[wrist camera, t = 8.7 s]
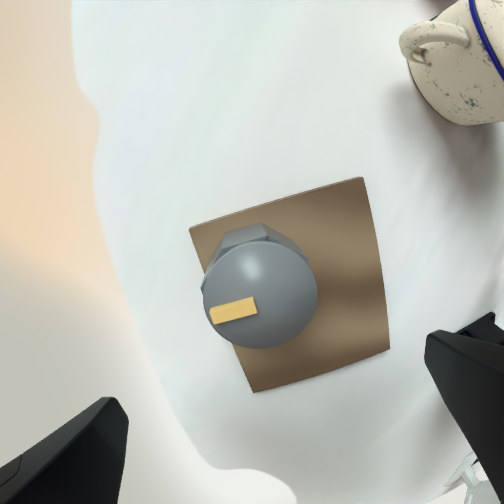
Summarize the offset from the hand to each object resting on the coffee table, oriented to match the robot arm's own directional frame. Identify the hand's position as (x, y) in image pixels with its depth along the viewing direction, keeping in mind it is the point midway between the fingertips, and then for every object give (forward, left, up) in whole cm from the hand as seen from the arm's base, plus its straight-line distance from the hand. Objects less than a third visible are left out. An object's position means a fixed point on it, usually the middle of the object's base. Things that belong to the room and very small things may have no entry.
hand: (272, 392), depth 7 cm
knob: (0, 0, -11) cm, 11 cm away
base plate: (-3, -2, -12) cm, 13 cm away
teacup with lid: (+10, -17, -12) cm, 23 cm away
